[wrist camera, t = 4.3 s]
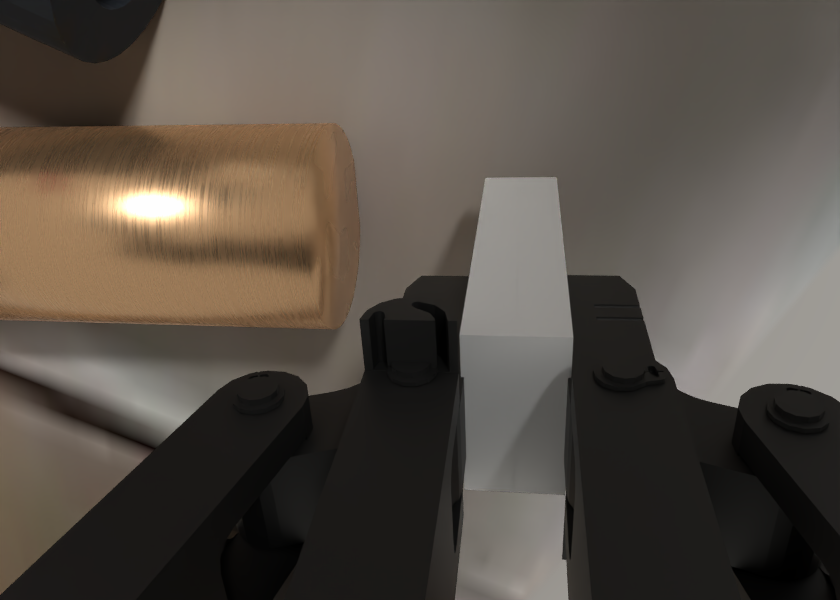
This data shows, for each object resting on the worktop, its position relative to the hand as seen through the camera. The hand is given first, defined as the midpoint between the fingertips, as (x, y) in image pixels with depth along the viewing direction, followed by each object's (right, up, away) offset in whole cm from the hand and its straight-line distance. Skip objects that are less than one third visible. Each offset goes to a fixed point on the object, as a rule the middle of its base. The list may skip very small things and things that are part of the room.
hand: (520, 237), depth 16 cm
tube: (-10, +1, +3) cm, 10 cm away
